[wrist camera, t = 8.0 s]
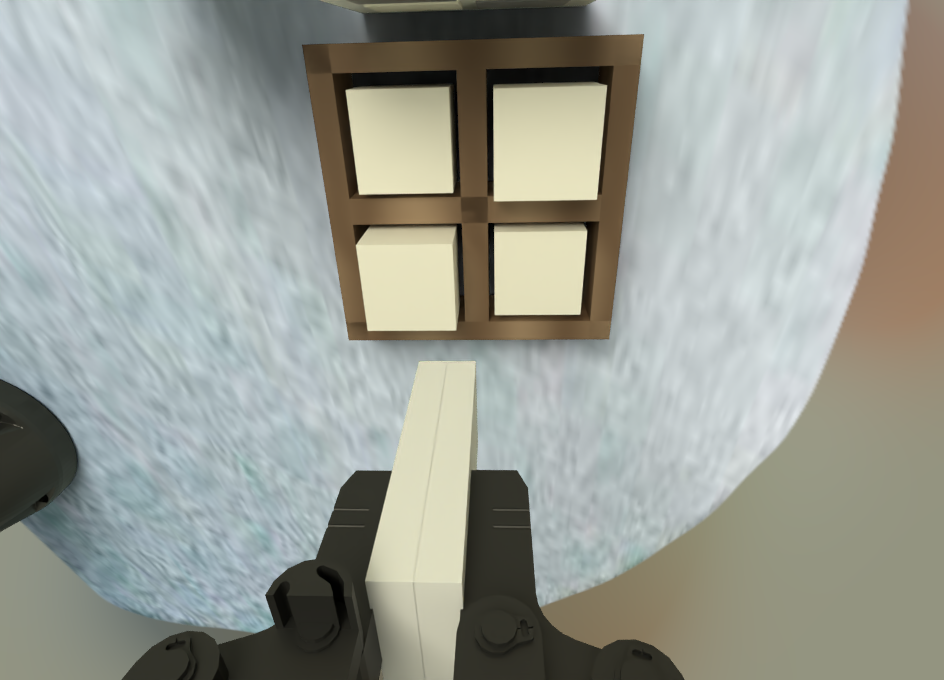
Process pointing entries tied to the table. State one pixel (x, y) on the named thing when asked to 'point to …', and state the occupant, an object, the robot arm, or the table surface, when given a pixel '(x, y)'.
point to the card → (448, 4)
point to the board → (477, 175)
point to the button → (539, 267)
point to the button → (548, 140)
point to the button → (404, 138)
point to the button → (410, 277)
